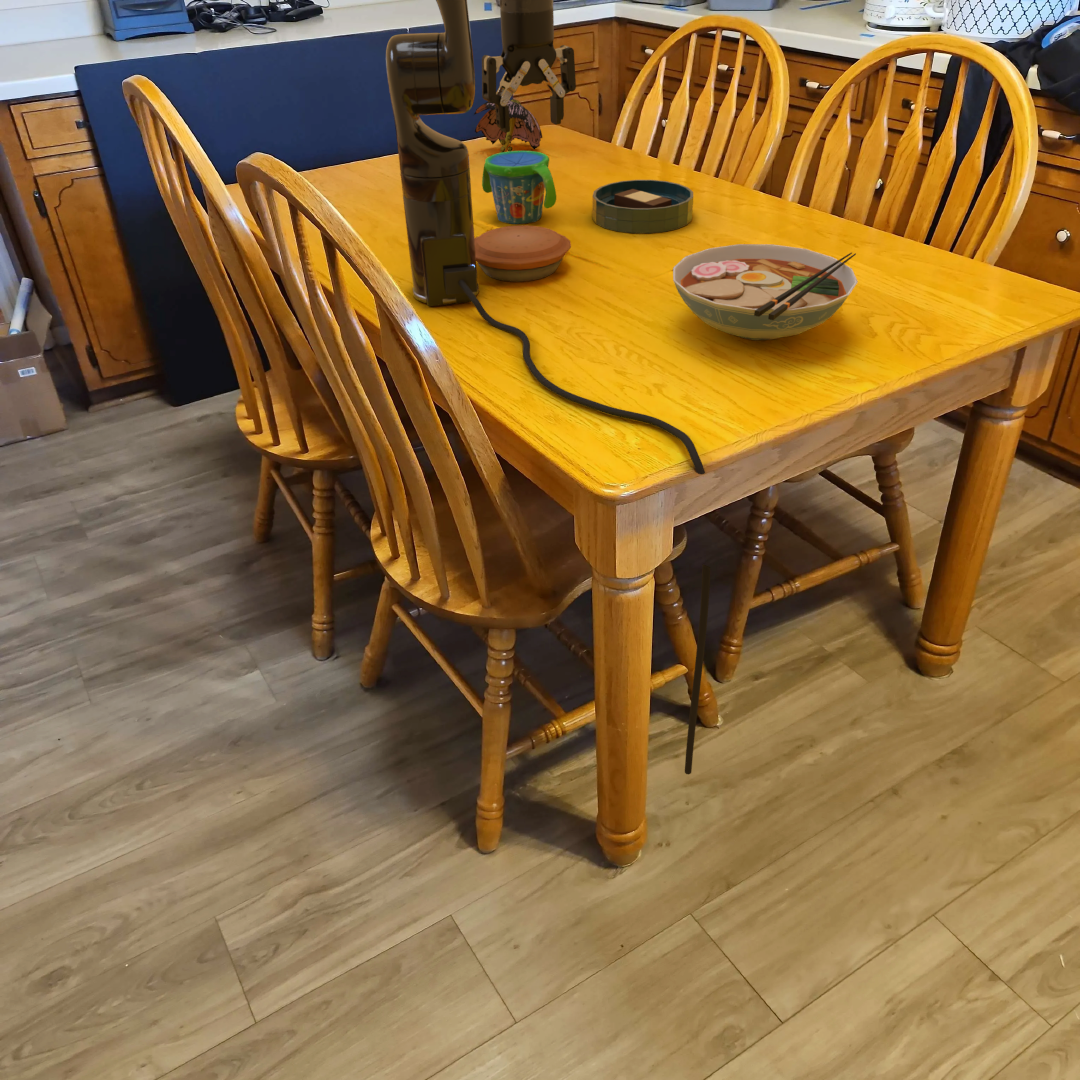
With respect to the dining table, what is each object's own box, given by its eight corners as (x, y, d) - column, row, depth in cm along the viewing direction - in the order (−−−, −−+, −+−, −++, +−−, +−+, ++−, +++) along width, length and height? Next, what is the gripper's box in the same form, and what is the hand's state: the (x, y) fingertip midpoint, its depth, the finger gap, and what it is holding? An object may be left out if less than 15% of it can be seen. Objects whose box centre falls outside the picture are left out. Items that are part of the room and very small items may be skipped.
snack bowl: (705, 231, 155) (707, 204, 152) (606, 240, 152) (606, 213, 150) (674, 201, 168) (675, 176, 165) (583, 210, 166) (583, 184, 163)
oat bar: (670, 220, 158) (671, 199, 156) (652, 226, 156) (653, 204, 154) (632, 208, 164) (632, 188, 162) (614, 214, 162) (614, 193, 160)
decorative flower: (560, 99, 194) (501, 86, 185) (559, 159, 196) (500, 149, 187) (517, 110, 205) (459, 98, 196) (516, 167, 207) (459, 158, 198)
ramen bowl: (729, 281, 137) (734, 224, 132) (881, 318, 125) (893, 257, 120) (629, 340, 121) (630, 278, 117) (792, 389, 109) (801, 322, 105)
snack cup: (467, 216, 165) (463, 155, 159) (515, 203, 170) (512, 143, 164) (523, 238, 155) (521, 173, 149) (572, 223, 160) (572, 160, 154)
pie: (552, 245, 151) (551, 214, 148) (585, 279, 139) (585, 245, 136) (458, 258, 148) (455, 226, 145) (484, 293, 136) (481, 259, 133)
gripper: (491, 14, 128) (497, 140, 138) (583, 4, 133) (584, 126, 143) (469, 7, 134) (477, 128, 144) (559, -3, 138) (561, 115, 148)
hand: (530, 127), depth 143 cm, fingers open, 8 cm apart
